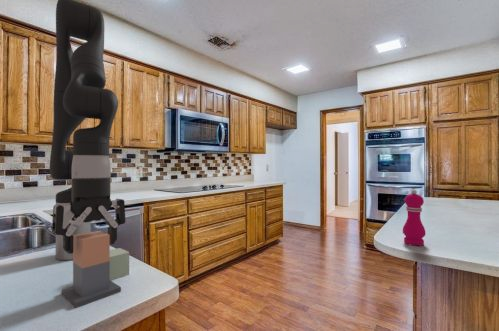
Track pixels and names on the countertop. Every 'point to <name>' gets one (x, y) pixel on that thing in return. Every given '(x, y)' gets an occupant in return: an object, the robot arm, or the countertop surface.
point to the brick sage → (119, 263)
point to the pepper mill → (414, 220)
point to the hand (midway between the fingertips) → (91, 247)
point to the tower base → (89, 297)
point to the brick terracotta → (91, 248)
